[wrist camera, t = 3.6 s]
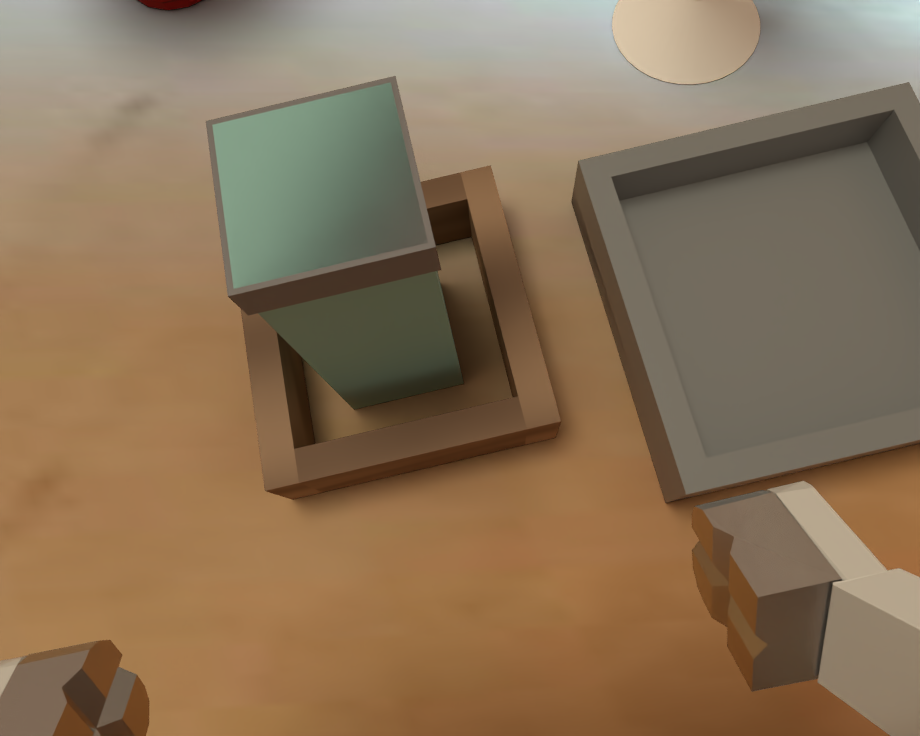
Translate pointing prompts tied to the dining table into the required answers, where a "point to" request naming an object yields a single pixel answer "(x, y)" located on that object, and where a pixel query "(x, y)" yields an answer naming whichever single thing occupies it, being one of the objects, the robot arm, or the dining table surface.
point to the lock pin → (335, 240)
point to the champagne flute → (686, 37)
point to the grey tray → (765, 288)
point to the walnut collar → (429, 439)
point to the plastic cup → (169, 3)
